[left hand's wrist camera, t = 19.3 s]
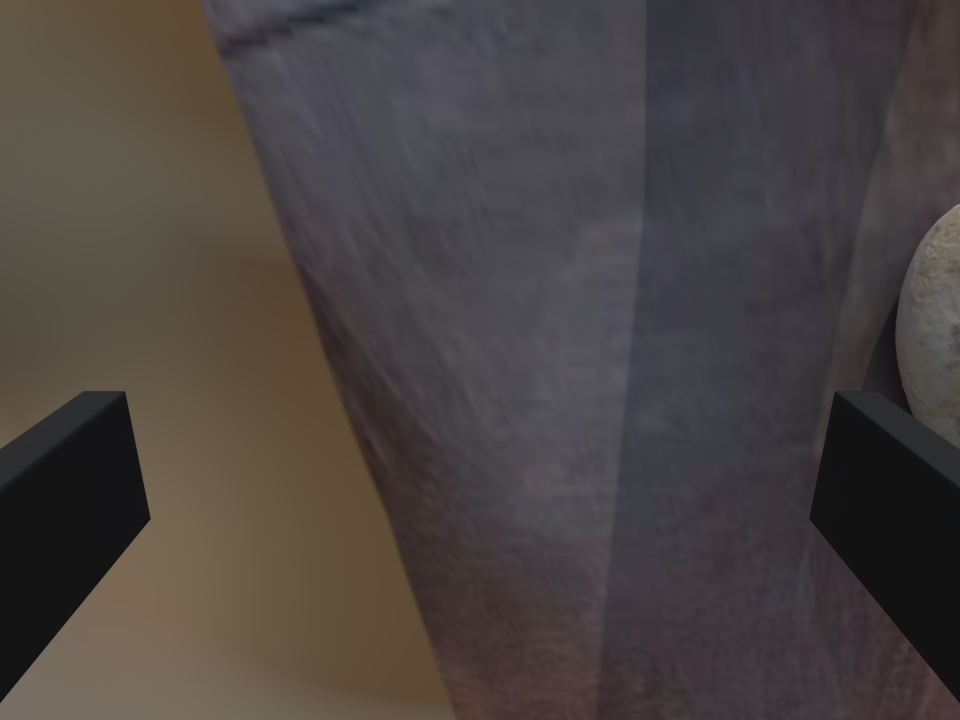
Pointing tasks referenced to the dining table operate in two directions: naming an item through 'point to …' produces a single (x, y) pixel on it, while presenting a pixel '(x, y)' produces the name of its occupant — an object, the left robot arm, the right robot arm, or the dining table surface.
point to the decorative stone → (933, 329)
